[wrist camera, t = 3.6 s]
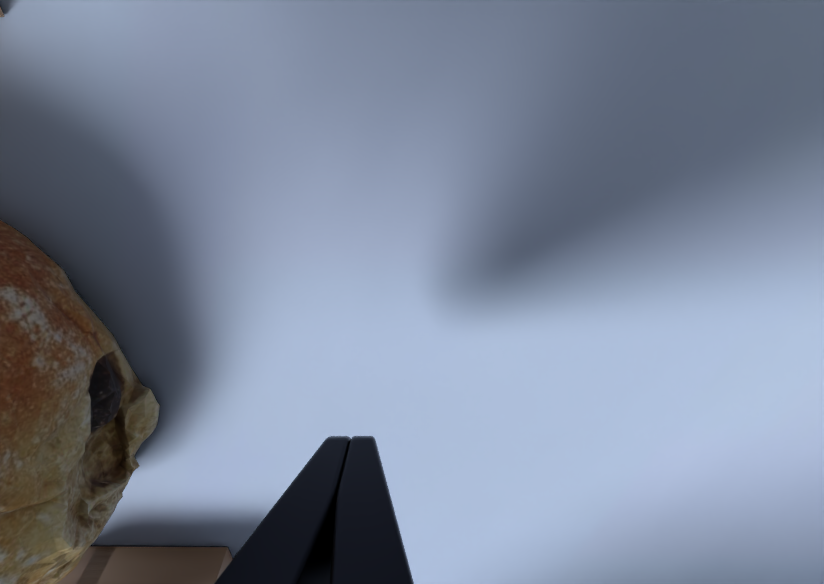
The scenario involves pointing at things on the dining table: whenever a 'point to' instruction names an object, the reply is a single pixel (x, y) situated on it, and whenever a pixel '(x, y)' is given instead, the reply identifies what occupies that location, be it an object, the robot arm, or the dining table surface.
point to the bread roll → (59, 418)
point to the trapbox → (149, 563)
